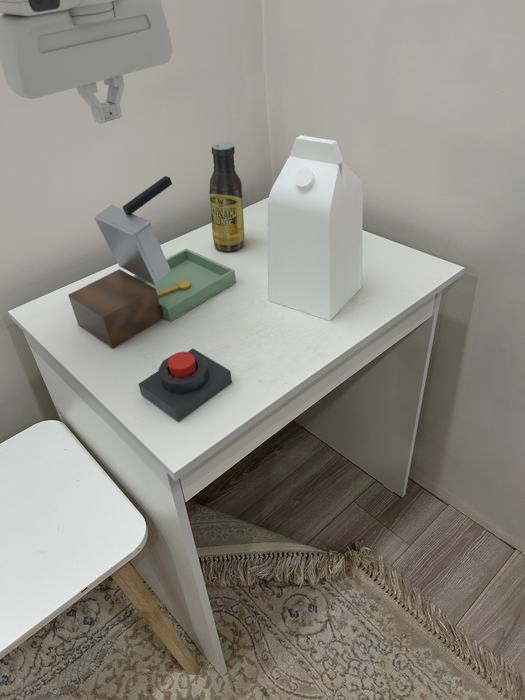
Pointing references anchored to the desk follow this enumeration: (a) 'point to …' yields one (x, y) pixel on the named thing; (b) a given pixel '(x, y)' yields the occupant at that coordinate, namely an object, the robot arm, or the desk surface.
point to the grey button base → (185, 386)
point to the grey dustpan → (135, 236)
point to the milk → (315, 230)
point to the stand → (116, 307)
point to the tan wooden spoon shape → (175, 288)
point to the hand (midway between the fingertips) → (108, 119)
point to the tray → (203, 279)
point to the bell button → (182, 364)
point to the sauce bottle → (226, 200)
